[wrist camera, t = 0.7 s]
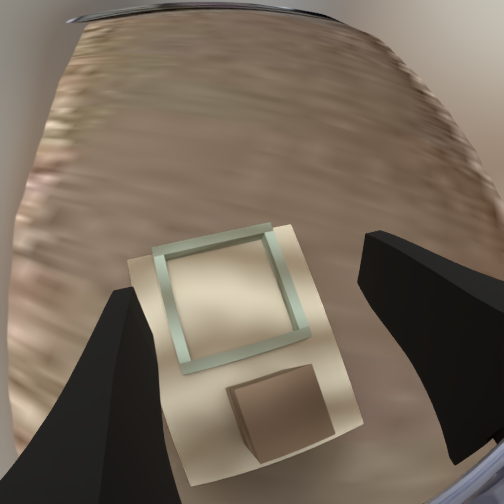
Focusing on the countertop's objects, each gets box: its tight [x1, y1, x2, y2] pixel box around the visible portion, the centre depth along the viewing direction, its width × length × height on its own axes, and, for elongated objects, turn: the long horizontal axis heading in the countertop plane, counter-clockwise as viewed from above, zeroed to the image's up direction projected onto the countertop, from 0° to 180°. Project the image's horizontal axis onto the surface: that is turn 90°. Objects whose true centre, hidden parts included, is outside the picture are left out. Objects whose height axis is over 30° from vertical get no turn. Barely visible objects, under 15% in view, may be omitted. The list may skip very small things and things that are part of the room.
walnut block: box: [225, 364, 336, 464], centre depth 17 cm, size 4×4×6 cm
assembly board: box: [127, 222, 364, 486], centre depth 22 cm, size 18×14×2 cm
